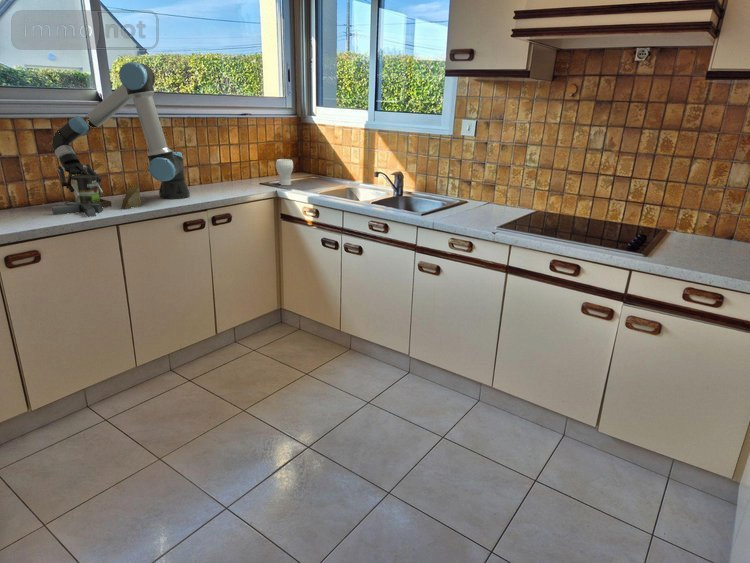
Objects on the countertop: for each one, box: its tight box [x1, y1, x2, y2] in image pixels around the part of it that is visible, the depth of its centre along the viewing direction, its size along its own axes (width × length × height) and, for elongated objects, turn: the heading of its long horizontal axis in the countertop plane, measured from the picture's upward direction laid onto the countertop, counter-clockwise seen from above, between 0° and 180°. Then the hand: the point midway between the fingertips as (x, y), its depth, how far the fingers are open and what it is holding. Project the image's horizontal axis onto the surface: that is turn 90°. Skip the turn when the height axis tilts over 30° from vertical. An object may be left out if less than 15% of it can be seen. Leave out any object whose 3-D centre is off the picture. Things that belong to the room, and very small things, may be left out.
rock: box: [120, 185, 142, 210], centre depth 234 cm, size 11×9×10 cm
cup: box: [275, 158, 294, 186], centre depth 309 cm, size 11×11×15 cm
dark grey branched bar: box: [51, 202, 104, 218], centre depth 220 cm, size 11×20×4 cm, turn 85°
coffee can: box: [71, 174, 101, 203], centre depth 232 cm, size 10×10×14 cm
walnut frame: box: [64, 198, 112, 208], centre depth 234 cm, size 14×14×2 cm
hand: (90, 195), depth 231 cm, fingers closed on coffee can, 10 cm apart
